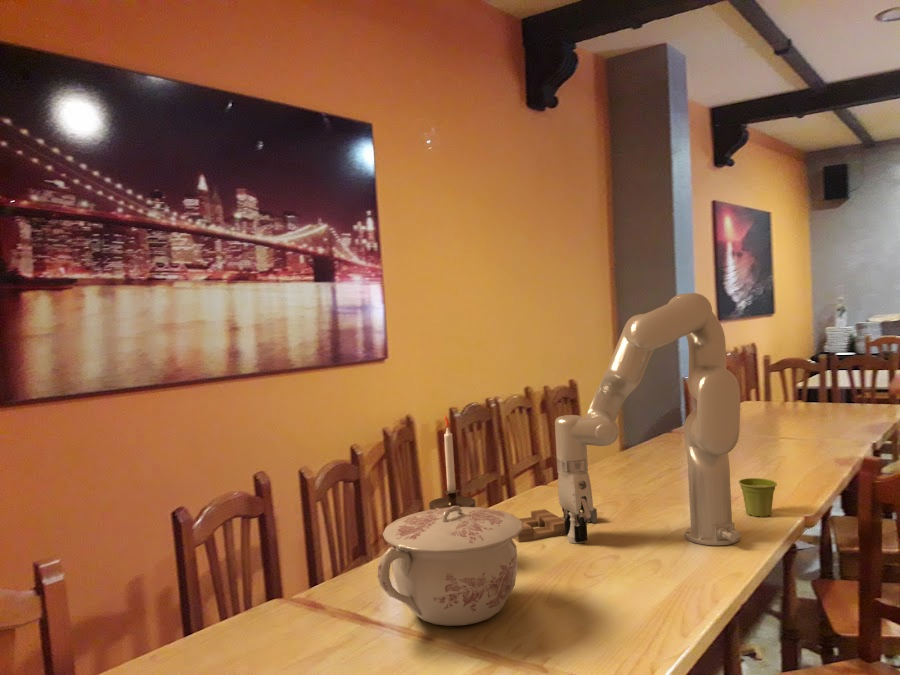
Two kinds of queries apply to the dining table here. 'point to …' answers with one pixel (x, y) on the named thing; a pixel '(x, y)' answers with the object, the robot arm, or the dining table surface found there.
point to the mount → (541, 518)
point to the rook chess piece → (572, 529)
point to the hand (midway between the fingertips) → (576, 537)
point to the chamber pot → (452, 563)
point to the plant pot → (758, 495)
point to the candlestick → (450, 480)
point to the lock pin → (593, 516)
